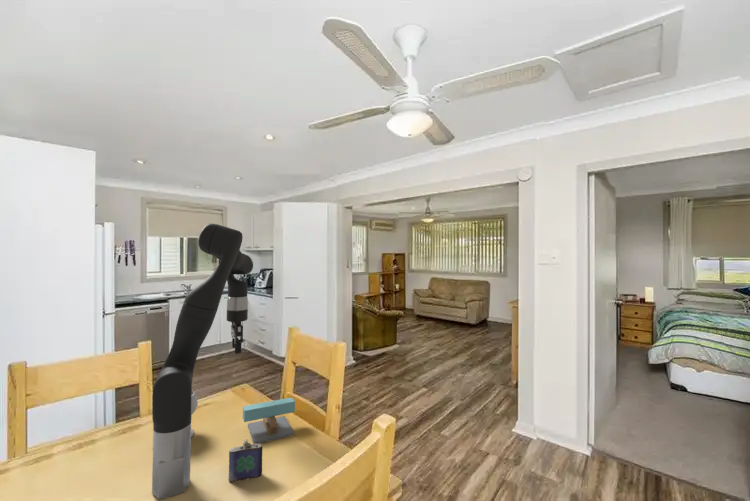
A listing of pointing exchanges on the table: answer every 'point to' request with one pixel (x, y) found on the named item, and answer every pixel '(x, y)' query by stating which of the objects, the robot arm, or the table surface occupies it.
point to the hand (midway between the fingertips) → (236, 350)
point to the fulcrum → (270, 429)
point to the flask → (245, 462)
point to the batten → (268, 409)
